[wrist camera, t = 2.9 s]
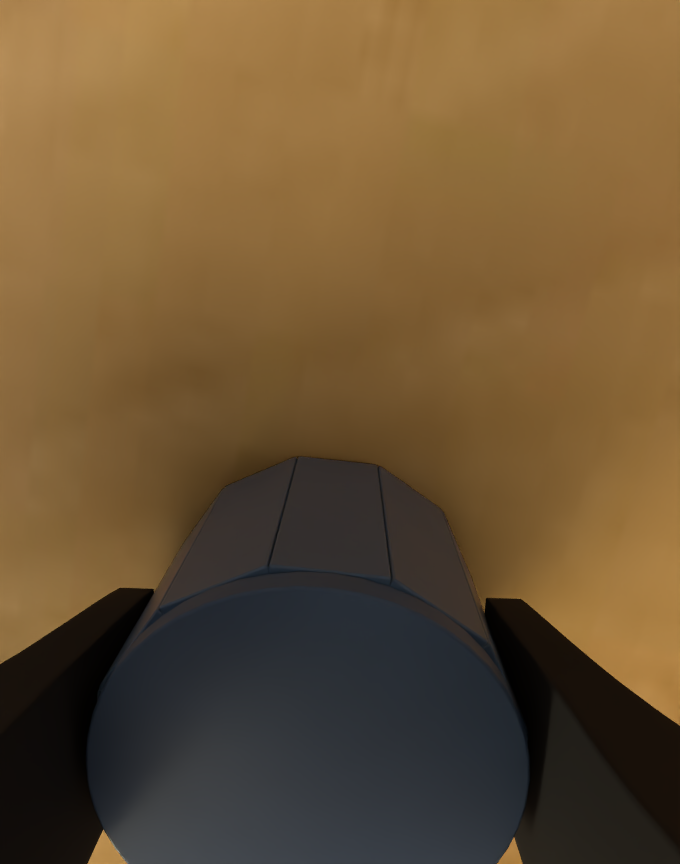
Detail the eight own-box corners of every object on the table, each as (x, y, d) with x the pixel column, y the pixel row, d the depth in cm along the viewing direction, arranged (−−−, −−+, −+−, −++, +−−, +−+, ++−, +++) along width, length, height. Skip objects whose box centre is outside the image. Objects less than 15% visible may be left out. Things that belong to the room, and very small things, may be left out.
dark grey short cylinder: (525, 567, 12) (627, 750, 8) (353, 754, 13) (353, 1001, 9) (286, 399, 11) (244, 494, 7) (128, 618, 12) (5, 817, 8)
